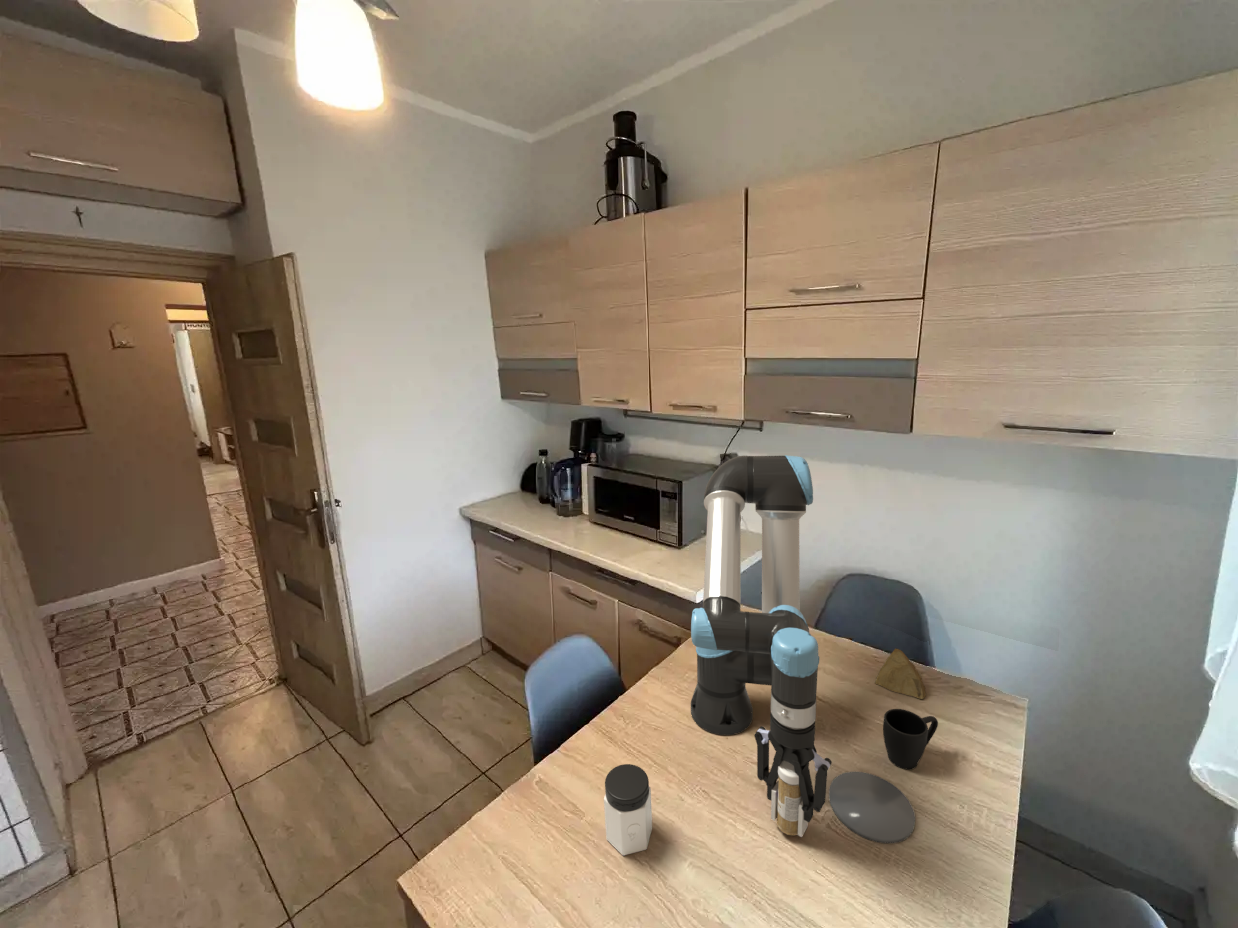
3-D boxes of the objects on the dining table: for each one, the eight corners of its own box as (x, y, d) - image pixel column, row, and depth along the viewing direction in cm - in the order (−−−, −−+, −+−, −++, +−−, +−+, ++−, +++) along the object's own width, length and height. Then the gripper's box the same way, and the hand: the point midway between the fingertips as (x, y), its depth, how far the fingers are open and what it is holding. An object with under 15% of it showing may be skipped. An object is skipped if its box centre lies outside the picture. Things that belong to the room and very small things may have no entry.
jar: (611, 860, 91) (607, 805, 88) (602, 820, 99) (598, 769, 96) (658, 847, 93) (656, 793, 90) (646, 809, 100) (644, 758, 98)
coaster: (817, 811, 98) (817, 807, 98) (843, 763, 109) (843, 759, 109) (903, 859, 88) (903, 855, 88) (922, 801, 99) (923, 797, 99)
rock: (939, 688, 127) (908, 661, 136) (928, 671, 124) (897, 645, 133) (907, 716, 127) (877, 687, 136) (895, 700, 124) (865, 671, 133)
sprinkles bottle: (775, 812, 97) (776, 754, 94) (800, 816, 96) (802, 757, 93) (777, 834, 93) (779, 774, 90) (803, 838, 92) (806, 777, 89)
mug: (949, 767, 107) (953, 728, 105) (899, 778, 105) (902, 739, 103) (919, 738, 115) (923, 702, 113) (872, 748, 113) (875, 711, 111)
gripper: (737, 706, 92) (736, 810, 97) (836, 753, 81) (829, 868, 86) (756, 684, 97) (755, 784, 103) (851, 725, 86) (844, 835, 91)
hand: (789, 822), depth 94 cm, fingers closed on sprinkles bottle, 4 cm apart
